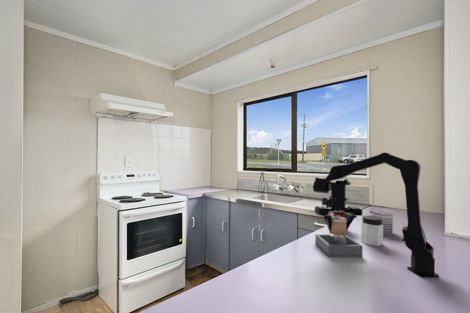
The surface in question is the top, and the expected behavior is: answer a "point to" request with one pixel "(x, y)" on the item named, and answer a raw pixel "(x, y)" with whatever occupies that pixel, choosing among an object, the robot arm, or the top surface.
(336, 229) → the ceramic canister
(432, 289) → the top surface
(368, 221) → the jar
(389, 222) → the can
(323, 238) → the tote
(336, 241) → the steel block
